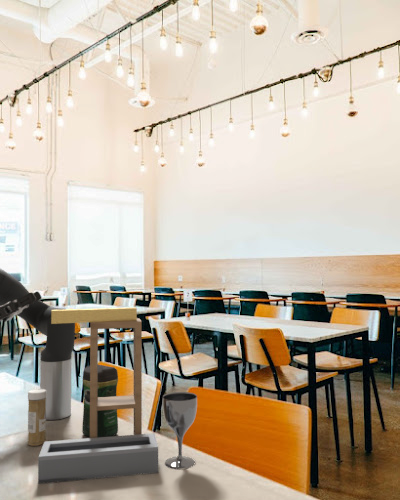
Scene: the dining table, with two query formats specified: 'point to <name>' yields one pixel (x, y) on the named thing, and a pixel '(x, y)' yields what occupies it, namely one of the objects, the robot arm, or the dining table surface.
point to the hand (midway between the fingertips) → (37, 295)
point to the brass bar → (93, 315)
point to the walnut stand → (135, 399)
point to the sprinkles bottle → (37, 417)
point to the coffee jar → (106, 388)
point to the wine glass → (179, 422)
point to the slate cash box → (97, 458)
